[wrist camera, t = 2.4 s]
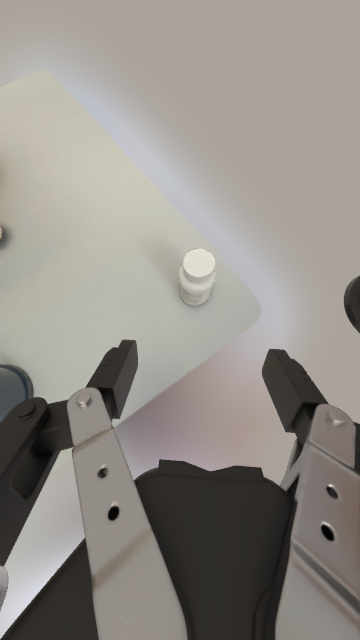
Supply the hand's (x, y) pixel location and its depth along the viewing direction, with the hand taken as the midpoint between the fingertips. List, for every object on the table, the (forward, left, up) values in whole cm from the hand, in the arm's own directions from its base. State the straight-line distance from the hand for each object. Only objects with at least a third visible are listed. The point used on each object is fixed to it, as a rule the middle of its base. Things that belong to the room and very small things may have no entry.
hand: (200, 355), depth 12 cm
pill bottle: (+4, -9, -14) cm, 17 cm away
